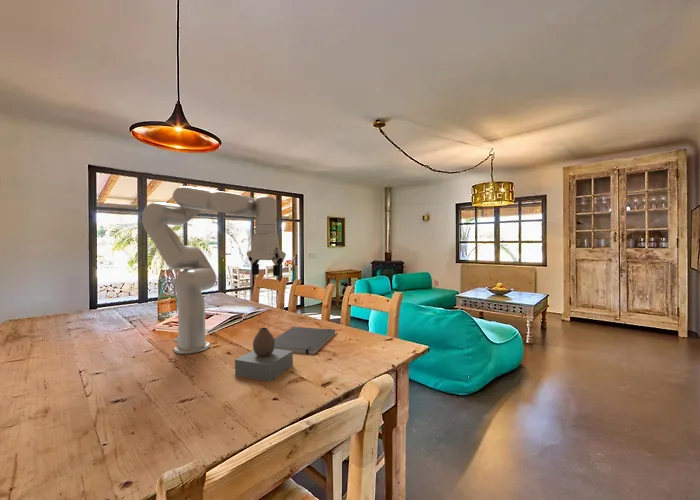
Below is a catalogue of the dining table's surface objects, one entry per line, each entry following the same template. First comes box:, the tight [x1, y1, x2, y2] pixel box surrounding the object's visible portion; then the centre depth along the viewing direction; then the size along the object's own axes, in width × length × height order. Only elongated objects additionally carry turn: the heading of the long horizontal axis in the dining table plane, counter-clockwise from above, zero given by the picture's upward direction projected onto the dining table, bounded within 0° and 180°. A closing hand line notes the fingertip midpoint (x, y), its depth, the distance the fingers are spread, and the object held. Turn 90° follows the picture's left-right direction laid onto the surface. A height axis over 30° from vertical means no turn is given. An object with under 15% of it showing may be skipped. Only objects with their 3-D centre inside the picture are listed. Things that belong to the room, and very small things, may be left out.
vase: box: [252, 327, 275, 357], centre depth 103 cm, size 7×7×9 cm
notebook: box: [274, 326, 336, 355], centre depth 133 cm, size 22×2×28 cm
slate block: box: [234, 349, 294, 383], centre depth 103 cm, size 13×13×5 cm
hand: (265, 275), depth 119 cm, fingers open, 9 cm apart
